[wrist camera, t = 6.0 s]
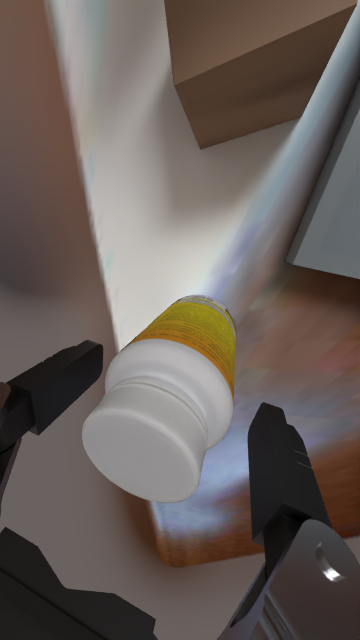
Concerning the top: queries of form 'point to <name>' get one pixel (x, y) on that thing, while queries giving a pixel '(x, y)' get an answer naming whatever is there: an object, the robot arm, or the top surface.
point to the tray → (334, 205)
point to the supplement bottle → (166, 402)
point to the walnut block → (249, 60)
